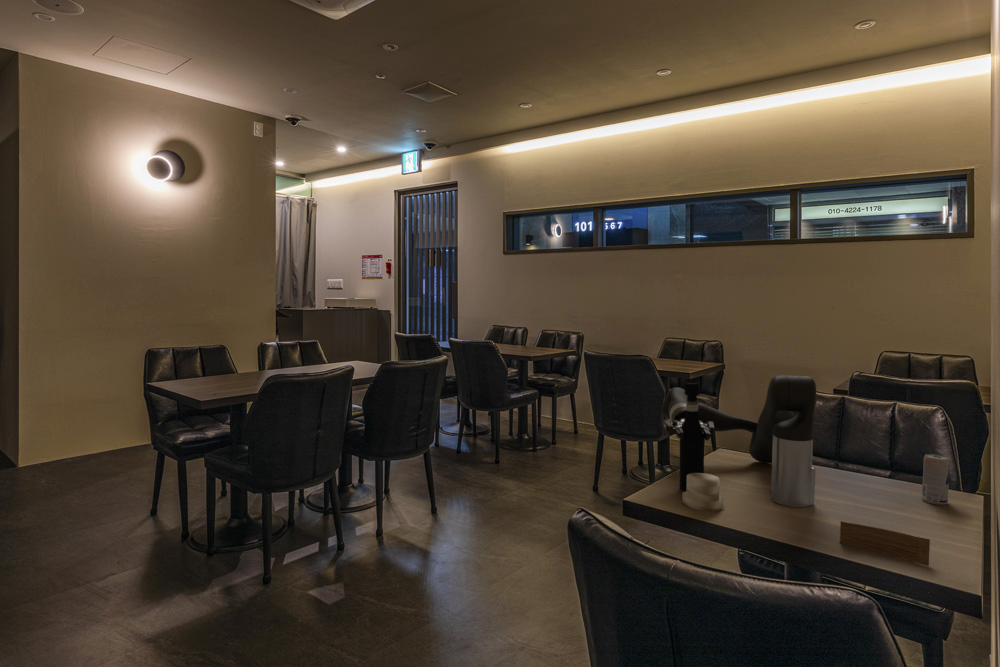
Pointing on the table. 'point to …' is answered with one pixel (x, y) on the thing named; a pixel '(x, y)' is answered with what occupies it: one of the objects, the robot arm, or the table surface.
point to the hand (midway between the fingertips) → (694, 436)
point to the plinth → (702, 504)
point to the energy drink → (935, 479)
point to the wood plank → (886, 542)
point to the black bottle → (691, 437)
